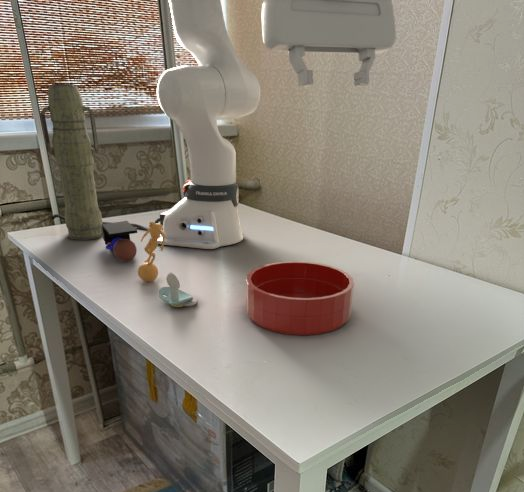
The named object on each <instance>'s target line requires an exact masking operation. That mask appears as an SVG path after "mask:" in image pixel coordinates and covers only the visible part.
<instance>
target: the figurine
mask: <svg viewBox="0 0 524 492" xmlns="http://www.w3.org/2000/svg"><path fill="white" fill-rule="evenodd" d="M148 234H149V235H150V239H149V240H148V242H147V244H146V245H145V246H144V247H143V248H144V252H146V254H148V258H147V259H146V260H145V261H143V263H142V264H141V265H139V267H138V269H137V275H138V277H139V278H140V280H142V281H143V282H145V283H152V282H153V281H155V280H156V279H157V277H158V275H159V269H158V267H157V266H156V264H154V261H155V259H156V254H155V253H154V251H155V250H156V249H157V248H158V246H159V244H158V242H157V241H158V239H159V237H160V235H162V236H163V237H162V244H161V245H160V247H159V251H160V252H161V253H163V252H164V246H165V245H164V241H165V234H164V233H163V226H162V225H161V224H160V223H158V224H157V223H155V221H150V222H149V225H148V230H146V232H145V233H144V234H143V236H142V237H141V240H140V243H142V242H143V241H144V239H145V238H146V237H147V235H148Z"/></svg>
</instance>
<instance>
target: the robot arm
mask: <svg viewBox="0 0 524 492" xmlns="http://www.w3.org/2000/svg"><path fill="white" fill-rule="evenodd" d="M168 3H169V8H170V13H171V18H172V25H173V30H174V36H175V39H176V41H177V42H178V44H179V45H180V46H181V47H182V48H183V49H184V50H186V51H187V52H189V53H190V54H191V55H192V56H193V57H194V59H195V60H196V62H197V64H198V65H181V66H176V67H172V68H169V69H166V70H164V71H163V72H162V74H161V75H160V77H159V80H158V83H157V87H156V95H157V96H156V97H157V101H158V104H159V106H160V108H161V110H162V112H163V113H164V114H165V115H166V116H167V117H168V118H169V119H170V120H172V122H173V123H175V125H176V126H177V128H178V129H179V130H180V132H181V134H182V136H183V138H184V141H185V144H186V147H187V152H188V158H189V169H190V179H188V180H186V181H185V182H184V183H183V187H182V193H183V198H182V199H181V200H179V201H178V202H177V203H175V205H173V206H172V207H171V208H170V209H167V210H166V211H164V212H161V213H159V217H158V218H156V219H155V221H154V223H157V224H161V225H162V227H163V233H164V234H165V241H164V245H163V246H173V247H174V246H175V247H184V248H193V249H203V250H215V249H218V248H221V247H224V246H231V245H235V244H237V243H240V242H242V241H243V239H244V236H243V233H242V228H241V224H240V217H239V211H238V205H239V203H240V202H239V199H240V198H239V197H240V196H239V193H240V192H239V190H240V189H239V182H238V181H237V152H236V148H235V147H234V145H233V144H232V143H231V142H230V141H229V140H228V139H226V138H224V137H223V136H222V135H221V132H220V131H219V127H218V120H219V121H220V120H221V121H222V120H238V119H240V118H243V117H247V116H249V115H251V114H253V113H254V112H255V111H256V110H257V109H258V106H259V104H260V100H261V94H262V93H261V86H260V82H259V80H258V78H257V75H255V73H254V72H252V71H251V70H250V69H249V68H248V67H247V66H246V65H245V63H244V62H243V61H242V60H241V58H240V57H239V55H238V53H237V52H236V50H235V48H234V46H233V43H232V41H231V39H230V37H229V34H228V31H227V26H226V22H225V17H224V12H223V7H222V2H221V0H168ZM261 33H262V36H261V37H262V42H263V45H264V46H265V47H266V49H267V50H268V51H269V52H286V53H287V52H288V61H289V63H290V65H291V67H292V68H293V69H294V72H295V73H296V74H297V85H298V87H300V88H304V87H305V88H307V87H309V88H310V86H312V85H313V84H314V78H313V76H314V72H313V71H314V70H313V69H308V68H307V65H306V62H305V60H304V59H303V57H304V56H305V55H306V53H325V54H326V53H327V54H328V53H329V54H358V61H359V62H361V63H360V64H361V65H360V66H359V70H358V72H355V73H353V85H354V87H367V86H368V85H369V83H370V70H371V68H372V67H373V66H372V65H373V64H374V61H375V59H376V55H380V54H382V53H385V52H387V51H389V50H390V49H391V50H392V48H393V47H394V46H395V43H396V41H397V27H396V18H395V10H394V4H393V0H263V1H262V4H261ZM56 218H59V219H61V220H62V221H63V220H64V221H65V215H61V214H58V213H55V214H53V215H52V216H51V217H50V220H55V219H56ZM102 223H103V224H107V223H114V222H113V221H111V222H110V221H102ZM129 223H130V224H131V225H132V226H133V227H134V228H136V229H137V228H138V229H140V230H143V231H147V230H148V229H149V227H148V228H147V227H146V226H144V225H141V224H138V223H132V222H129ZM162 237H163V236H162V235H160V237H159V239H158V241H157V242H158V245H162Z"/></svg>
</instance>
